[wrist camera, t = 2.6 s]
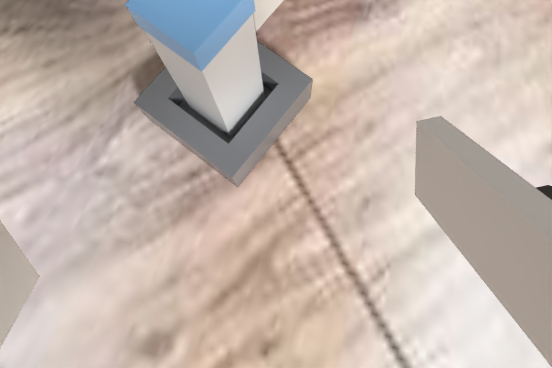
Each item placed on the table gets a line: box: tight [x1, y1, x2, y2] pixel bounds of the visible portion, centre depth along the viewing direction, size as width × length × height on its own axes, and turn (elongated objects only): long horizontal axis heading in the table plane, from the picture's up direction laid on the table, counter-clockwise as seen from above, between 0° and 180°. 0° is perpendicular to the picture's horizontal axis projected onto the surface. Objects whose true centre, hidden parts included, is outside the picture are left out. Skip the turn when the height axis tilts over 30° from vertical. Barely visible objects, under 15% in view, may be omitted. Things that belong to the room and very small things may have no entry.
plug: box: [125, 0, 265, 138], centre depth 23 cm, size 4×4×12 cm
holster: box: [134, 41, 313, 187], centre depth 29 cm, size 9×9×3 cm
